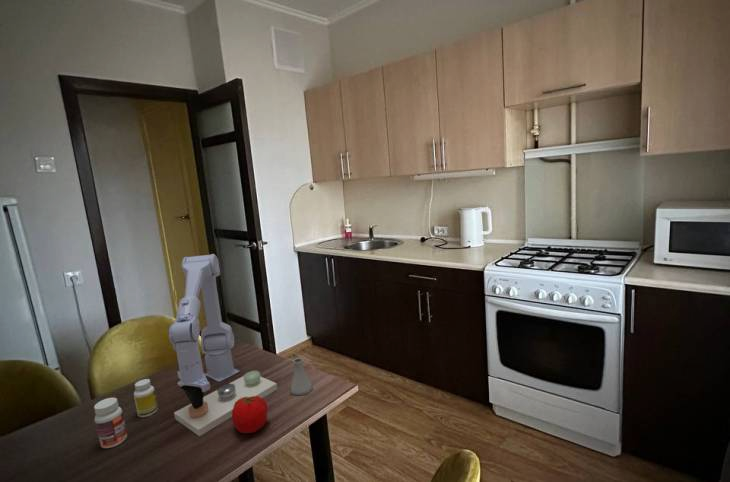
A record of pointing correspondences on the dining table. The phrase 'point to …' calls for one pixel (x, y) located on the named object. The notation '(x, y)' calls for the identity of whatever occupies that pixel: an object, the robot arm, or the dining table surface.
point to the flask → (300, 379)
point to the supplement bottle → (145, 398)
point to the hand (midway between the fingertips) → (198, 406)
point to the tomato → (249, 414)
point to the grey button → (226, 390)
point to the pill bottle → (110, 423)
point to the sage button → (251, 377)
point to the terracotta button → (198, 410)
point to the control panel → (223, 405)
